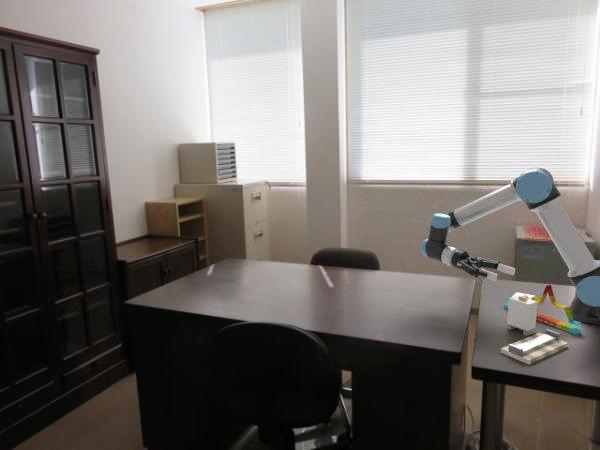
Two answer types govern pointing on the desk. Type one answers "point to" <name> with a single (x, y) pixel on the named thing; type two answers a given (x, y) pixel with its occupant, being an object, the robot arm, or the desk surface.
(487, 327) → the desk surface
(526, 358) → the rail board
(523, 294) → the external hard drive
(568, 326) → the chart
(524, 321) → the breaker module
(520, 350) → the steel rail
